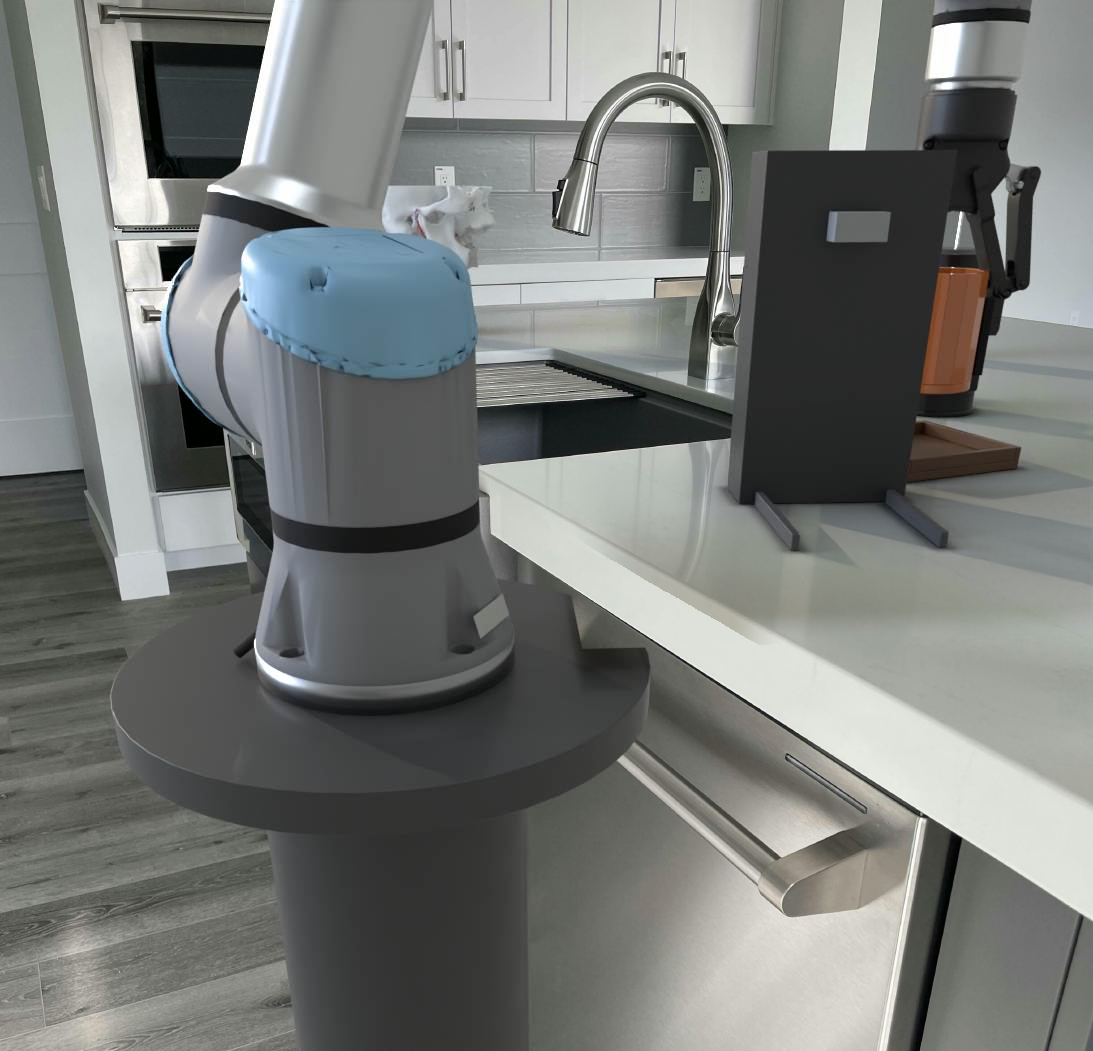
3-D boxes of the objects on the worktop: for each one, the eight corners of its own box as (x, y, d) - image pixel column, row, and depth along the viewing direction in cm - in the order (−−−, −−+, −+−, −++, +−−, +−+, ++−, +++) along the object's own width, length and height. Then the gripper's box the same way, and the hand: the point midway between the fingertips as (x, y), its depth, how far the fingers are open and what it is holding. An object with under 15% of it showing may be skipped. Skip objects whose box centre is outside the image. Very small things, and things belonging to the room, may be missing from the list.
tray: (903, 482, 96) (906, 460, 95) (815, 451, 106) (817, 431, 106) (1017, 468, 100) (1021, 446, 99) (921, 440, 111) (925, 420, 110)
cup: (898, 394, 97) (915, 274, 92) (870, 380, 104) (885, 267, 99) (983, 393, 97) (1004, 273, 92) (950, 379, 104) (968, 266, 99)
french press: (870, 403, 129) (898, 188, 118) (936, 398, 131) (970, 187, 121) (929, 422, 119) (966, 189, 108) (1000, 416, 121) (1043, 189, 111)
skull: (344, 340, 179) (331, 186, 168) (369, 326, 196) (359, 185, 185) (493, 341, 177) (490, 186, 167) (506, 327, 194) (503, 184, 183)
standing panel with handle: (774, 550, 79) (814, 146, 67) (726, 488, 94) (752, 151, 82) (962, 547, 79) (1035, 145, 67) (884, 486, 95) (932, 151, 83)
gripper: (1070, 91, 93) (1018, 365, 104) (834, 91, 92) (806, 368, 103) (1115, 84, 86) (1054, 379, 97) (861, 85, 85) (828, 382, 96)
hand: (926, 373), depth 100 cm, fingers closed on cup, 8 cm apart
